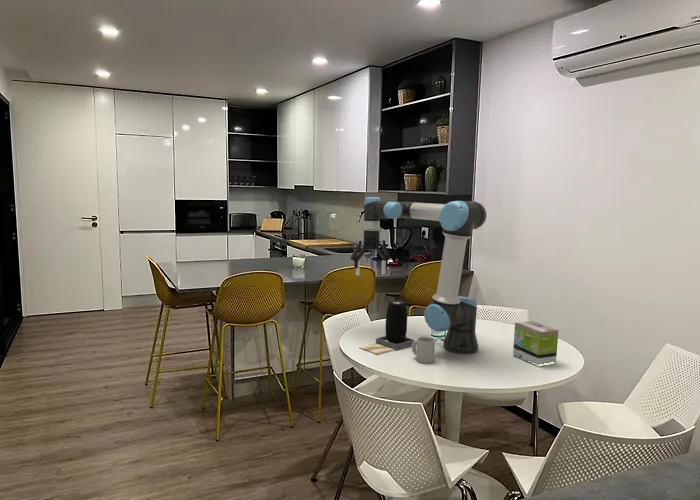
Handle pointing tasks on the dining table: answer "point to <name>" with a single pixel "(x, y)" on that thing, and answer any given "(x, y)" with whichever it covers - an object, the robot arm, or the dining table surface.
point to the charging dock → (399, 346)
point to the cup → (424, 349)
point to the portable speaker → (396, 321)
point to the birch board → (376, 348)
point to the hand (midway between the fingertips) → (370, 274)
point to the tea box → (535, 342)
